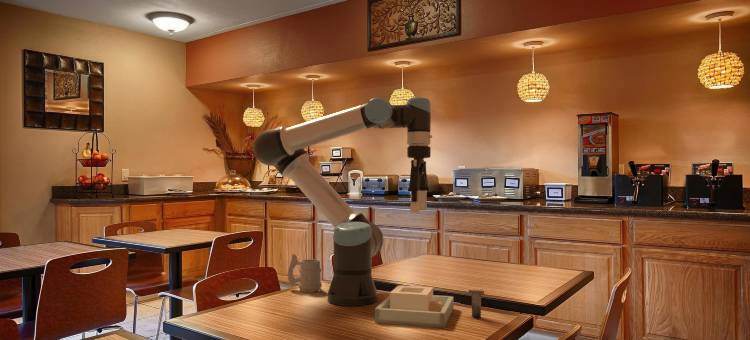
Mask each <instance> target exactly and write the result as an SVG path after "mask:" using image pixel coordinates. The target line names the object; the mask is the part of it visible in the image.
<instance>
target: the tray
mask: <svg viewBox="0 0 750 340" xmlns="http://www.w3.org/2000/svg"><path fill="white" fill-rule="evenodd" d="M433 301H441V302H442V310H441V312H430V311H415V310H401V309H390V295H388V296H387V297H386V298H385V299H384V300H383V301H382V302H381V303H380V304H378V305H377V306H376V307H375V308H374V323H376V324H387V325H389V324H390V325H401V326H403V325H404V326H415V327H417V326H418V327H428V328H429V327H430V328H440V329H441V328H442V329H444V328H445V327H446V326H447V324H448V321H449V319H450V317H451V315H452V314H453V311H454V309H453V308H454V306H455V305H454V303H455V302H454V301H455V299H454V295H452V296H451V295H434V294H433ZM452 310H453V311H452Z"/></svg>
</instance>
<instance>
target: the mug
mask: <svg viewBox="0 0 750 340" xmlns="http://www.w3.org/2000/svg"><path fill="white" fill-rule="evenodd" d="M296 266H300V268H299V276H298V277H295V276H294V269H295V267H296ZM287 269H288V270H287V281H288V283H289V285H290V287H293V286H295V284H297V283H299V284H298V288H299V292H301V291H303V292H302V293H308V292H312V293H316V292H315V291H318V292H320V291H319V290H322V287H323V283H322V282H321V280H322V279H321V278H322V277H321V272H322V268H321V261H320V259H312V258H311V259H302V260H299V261H298V257H297V255H296V254H295V253H292V254H291V260H290V263H289V265H288V268H287Z"/></svg>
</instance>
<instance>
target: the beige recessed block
mask: <svg viewBox="0 0 750 340" xmlns="http://www.w3.org/2000/svg"><path fill="white" fill-rule="evenodd" d="M433 295H434V287H432V286H428V287H427V286H414V285H413V286H411V285H396V287H395V288H394V289H392V290H391V291H390V293H389V296H390V309H401V310H415V311H430V312H441V310H442V302H441V301H433Z"/></svg>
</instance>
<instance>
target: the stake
mask: <svg viewBox="0 0 750 340" xmlns="http://www.w3.org/2000/svg"><path fill="white" fill-rule="evenodd" d="M468 294H471V318H472V317H473V318H472V319H474V318H480V319H482V295H485V290H482V289H481V290H479V289H478V290H477V289H468Z"/></svg>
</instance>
